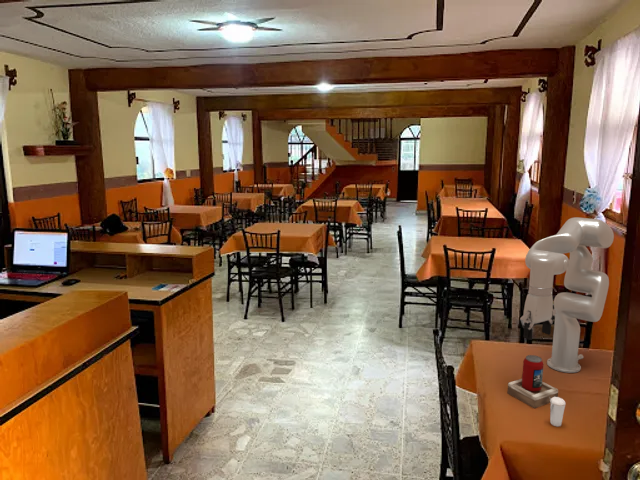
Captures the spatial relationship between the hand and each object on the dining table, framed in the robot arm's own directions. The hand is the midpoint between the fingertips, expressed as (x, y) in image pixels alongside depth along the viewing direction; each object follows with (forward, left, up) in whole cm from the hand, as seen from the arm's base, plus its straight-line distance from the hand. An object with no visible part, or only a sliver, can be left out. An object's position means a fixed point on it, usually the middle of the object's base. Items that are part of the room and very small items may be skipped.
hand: (536, 336), depth 176 cm
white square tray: (+1, +1, -23) cm, 23 cm away
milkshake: (+9, +16, -24) cm, 30 cm away
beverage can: (+1, 0, -21) cm, 21 cm away
